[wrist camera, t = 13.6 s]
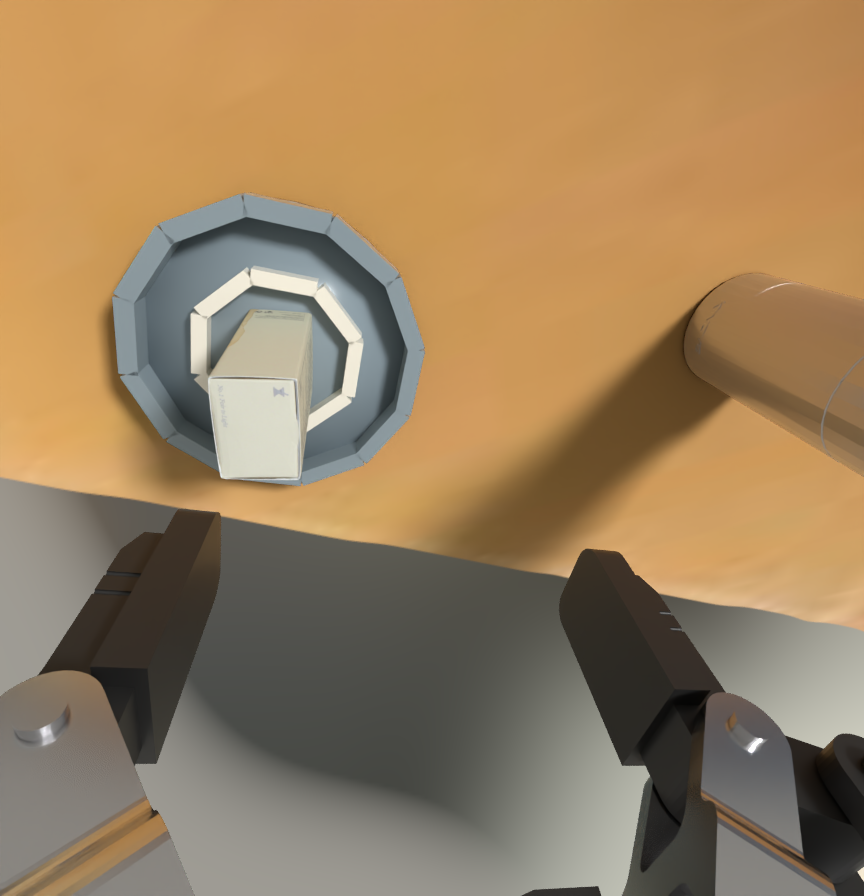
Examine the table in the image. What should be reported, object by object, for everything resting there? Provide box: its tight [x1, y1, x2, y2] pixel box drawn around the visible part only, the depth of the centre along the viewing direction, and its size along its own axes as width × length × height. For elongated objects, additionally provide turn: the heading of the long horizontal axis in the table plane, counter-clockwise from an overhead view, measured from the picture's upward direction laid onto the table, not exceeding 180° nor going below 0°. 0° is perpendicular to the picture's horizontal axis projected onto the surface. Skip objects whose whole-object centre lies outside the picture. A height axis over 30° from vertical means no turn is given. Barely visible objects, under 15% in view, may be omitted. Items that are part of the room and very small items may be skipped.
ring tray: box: [112, 193, 425, 486], centre depth 35 cm, size 20×20×3 cm
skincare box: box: [208, 309, 313, 480], centre depth 30 cm, size 6×4×12 cm
